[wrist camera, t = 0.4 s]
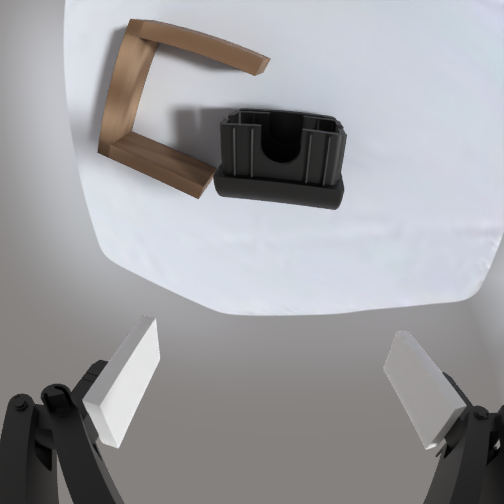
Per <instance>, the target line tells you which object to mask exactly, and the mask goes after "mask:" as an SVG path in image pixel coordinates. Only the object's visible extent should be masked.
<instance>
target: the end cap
mask: <svg viewBox="0 0 504 504" xmlns="http://www.w3.org/2000/svg"><path fill="white" fill-rule="evenodd" d="M343 128H344V127H343V126H342V125H341V123H340V121H337V120H336V118H334V117H332V116H325V115H317V114H310V113H301V112H291V111H280V110H266V109H245V108H244V109H240V110H239V111H235V112H233V113H231V114H230V115H229V116H228V119H224V120H223V121H222V122H221V123H220V130H221V154H222V164H221V165H220V166H219V168H218V169H217V170H216V172H215V173H214V175H213V179H214V185H215V189H216V191H217V193H218V194H219V195H220V196H222V197H231V198H241V199H251V200H261V201H270V202H278V203H287V204H295V205H303V206H310V207H317V208H325V209H332V210H336V209H337V208H338V207H339V206H340V204H341V201H342V198H343V194H344V185H343V180H342V175H341V169H342V163H343V157H344V151H345V144H346V138H347V135H346V133H345V132H344V130H343Z"/></svg>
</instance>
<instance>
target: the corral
mask: <svg viewBox="0 0 504 504" xmlns="http://www.w3.org/2000/svg"><path fill="white" fill-rule="evenodd" d="M159 42H160V43H164V44H168V45H171V46H175V47H178V48H181V49H185V50H188V51H191V52H194V53H197V54H200V55H203V56H206V57H209V58H211V59H214V60H217V61H220V62H222V63H225V64H227V65H230V66H232V67H235V68H237V69H240V70H242V71H245V72H247V73H249V74H252V75H254V76H256V75H258V74H261V73H263V72H264V70H265V68H266V66H267V64H268V63H269V61H270V58H268V57H266V56H264V55H261V54H259V53H257V52H254V51H252V50H249V49H247V48H244V47H242V46H239V45H236V44H234V43H231V42H228V41H226V40H223V39H220V38H217V37H214V36H211V35H208V34H204V33H201V32H198V31H194V30H191V29H187V28H184V27H180V26H176V25H172V24H168V23H164V22H159V21H154V20H140V19H130V21H129V24H128V26H127V29H126V32H125V35H124V38H123V41H122V44H121V47H120V50H119V53H118V57H117V60H116V64H115V67H114V71H113V75H112V79H111V83H110V87H109V91H108V95H107V100H106V105H105V110H104V115H103V120H102V126H101V132H100V138H99V145H98V153H99V154H102V155H104V156H106V157H108V158H111V159H113V160H115V161H117V162H120V163H122V164H124V165H126V166H128V167H131V168H133V169H135V170H137V171H139V172H142V173H144V174H146V175H148V176H150V177H152V178H155V179H157V180H159V181H161V182H163V183H165V184H167V185H170V186H172V187H174V188H176V189H178V190H180V191H182V192H184V193H186V194H189V195H191V196H193V197H195V198H197V199H199V198H200V196H201V195H202V193H203V192H204V190H205V189H206V188H207V186H208V185H209V183H210V182H211V180H212V178H213V175H214V173H215V171H216V168H214V167H212V166H209V165H207V164H205V163H203V162H201V161H199V160H196V159H194V158H192V157H190V156H188V155H185V154H183V153H181V152H179V151H176V150H174V149H172V148H170V147H167V146H165V145H163V144H160V143H158V142H156V141H153V140H151V139H149V138H146V137H144V136H141V135H139V134H137V133H134V132H132V128H133V124H134V120H135V116H136V112H137V108H138V104H139V101H140V97H141V94H142V90H143V87H144V84H145V81H146V77H147V74H148V71H149V68H150V65H151V62H152V59H153V57H154V54H155V51H156V48H157V46H158V43H159Z"/></svg>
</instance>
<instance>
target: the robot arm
mask: <svg viewBox="0 0 504 504" xmlns="http://www.w3.org/2000/svg"><path fill="white" fill-rule="evenodd" d="M159 360H160V353H159V344H158V335H157V325H156V318H154V317H148V316H142V317H141V319H140V320H139V321H138V323H137V324H136V325H135V326H134V328H133V329H132V331H131V332H130V333H129V335H128V336H127V337H126V339H125V340H124V341H123V343H122V344H121V345H120V347H119V348H118V349H117V351H116V352H115V354H114V355H113V357H112V358H111V359H110V361H109V362H107V361H103V360H99V361H97V362H96V363H94V364H93V365H91V367H90V368H89V369H88V371H87V372H86V374H85V375H84V376H83V377H82V379H81V380H80V381H79V382H78V384H77V385H76V387H75V388H74V389H73V391H72V392H71V391H70V389H69V388H68V387H67V386H65V385H62V384H52V385H49V386H47V387H46V388H45V389H44V390H43V391H42V393H41V399H42V401H43V403H44V405H39V404H35V403H34V401H33V400H32V398H31V397H30V396H29V395H27V394H17V395H15V396H14V397H12V398H11V399H10V401H9V403H8V407H7V411H6V415H5V420H4V424H3V429H2V434H1V439H0V504H59V500H58V486H57V455H58V458H59V462H60V465H61V469H62V472H63V475H64V478H65V481H66V484H67V487H68V490H69V492H70V495H71V498H72V501H73V503H74V504H124V502H123V500H122V498H121V496H120V495H119V493H118V490H117V489H116V487H115V485H114V483H113V480H112V478H111V476H110V474H109V472H108V470H107V468H106V466H105V463H104V461H103V459H102V456H101V454H100V451H99V449H98V447H97V444H96V442H95V441H96V440H97V438H98V436H99V437H100V439H101V441H102V443H104V444H107V445H110V446H113V447H116V448H119V446H120V444H121V442H122V439H123V437H124V435H125V433H126V431H127V428H128V426H129V424H130V422H131V419H132V417H133V415H134V413H135V411H136V409H137V406H138V404H139V402H140V400H141V398H142V396H143V394H144V392H145V390H146V388H147V385H148V383H149V381H150V379H151V377H152V375H153V373H154V370H155V369H156V367H157V365H158V363H159ZM383 370H384V372H385V373H386V375H387V377H388V379H389V381H390V382H391V384H392V386H393V388H394V390H395V392H396V393H397V395H398V397H399V399H400V401H401V402H402V405H403V406H404V408H405V410H406V412H407V414H408V415H409V418H410V420H411V422H412V423H413V425H414V427H415V429H416V431H417V433H418V435H419V437H420V439H421V441H422V443H423V445H424V447H425V449H429V448H433V447H436V446H438V445H439V444H440V442H441V441H442V440H443V438H445V440H446V443H445V445H444V446H443V447H442V448H441V449H440V451H439V452H438V453H437V455H436V457H437V456H438V455H439V454H440V453H441V456H440V460H439V463H438V466H437V469H436V472H435V475H434V478H433V481H432V483H431V486H430V489H429V491H428V494H427V496H426V499H425V501H424V503H423V504H504V405H503V406H502V407H501V408H500V410H499V411H498V413H489V412H488V410H486V409H485V408H484V407H481V406H473V405H472V404H471V402H470V401H469V400H468V398H467V397H466V396H465V394H464V393H463V392H462V391H461V390H460V388H459V387H458V385H456V383H455V381H454V380H453V379H452V378H451V377H450V376H448V375H447V374H446V373H444V372H443V373H442V372H441V371H440V370H439V369H438V367H437V366H436V365H435V363H434V362H433V361H432V360H431V358H430V357H429V356H428V355H427V353H426V352H425V351H424V350H423V349H422V347H421V346H420V345H419V344H418V343H417V341H416V340H415V339H414V338H413V336H412V335H411V334H410V333H409V332H408V331H407V330H403V331H396V334H395V337H394V340H393V343H392V346H391V348H390V351H389V354H388V357H387V359H386V362H385V364H384V367H383ZM499 442H500V447H499V448H498V449H497V447H496V445H497V444H498V443H499Z"/></svg>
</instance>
